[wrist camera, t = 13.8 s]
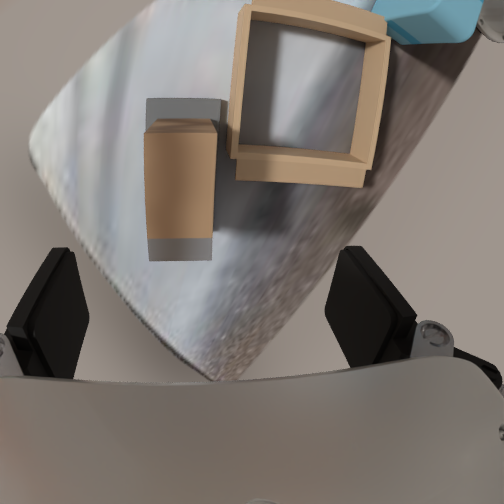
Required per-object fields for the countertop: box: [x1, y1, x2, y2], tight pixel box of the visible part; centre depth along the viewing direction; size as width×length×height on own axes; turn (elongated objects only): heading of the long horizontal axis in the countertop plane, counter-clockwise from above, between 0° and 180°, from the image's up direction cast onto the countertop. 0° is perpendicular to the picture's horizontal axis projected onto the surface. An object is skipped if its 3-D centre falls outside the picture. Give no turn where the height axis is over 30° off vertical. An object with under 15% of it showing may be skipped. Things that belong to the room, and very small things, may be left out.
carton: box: [226, 0, 391, 188], centre depth 27 cm, size 14×18×4 cm
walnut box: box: [144, 118, 217, 261], centre depth 27 cm, size 5×10×9 cm, turn 175°
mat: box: [146, 98, 221, 220], centre depth 31 cm, size 7×14×1 cm, turn 175°
